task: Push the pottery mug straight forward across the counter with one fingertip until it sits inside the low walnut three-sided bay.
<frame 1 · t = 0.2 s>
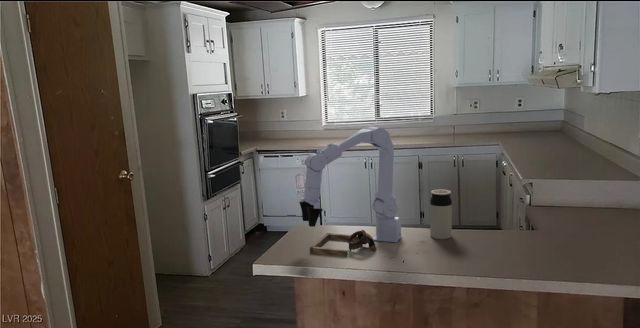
hand: (308, 223, 171), 11 cm above the countertop, tool pointing down, fingers open, 7 cm apart
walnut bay: (338, 246, 176), on the countertop
travel mug: (440, 237, 183), on the countertop
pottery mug: (362, 250, 172), on the countertop
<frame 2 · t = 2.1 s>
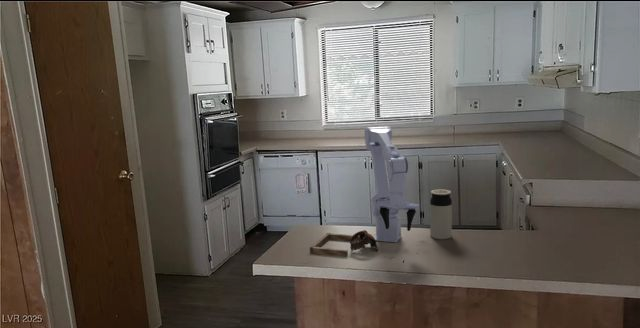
hand: (398, 229, 166), 9 cm above the countertop, tool pointing down, fingers open, 7 cm apart
nothing on the countertop moved.
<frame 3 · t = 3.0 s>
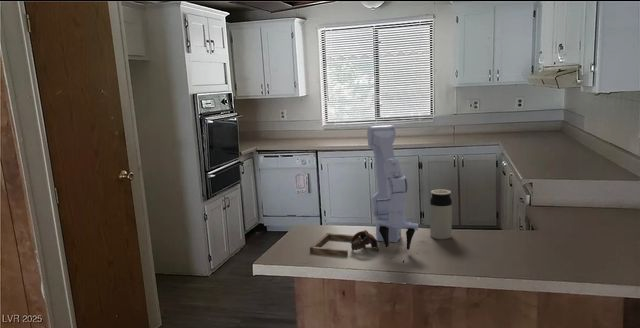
hand: (397, 247, 167), 2 cm above the countertop, tool pointing down, fingers open, 7 cm apart
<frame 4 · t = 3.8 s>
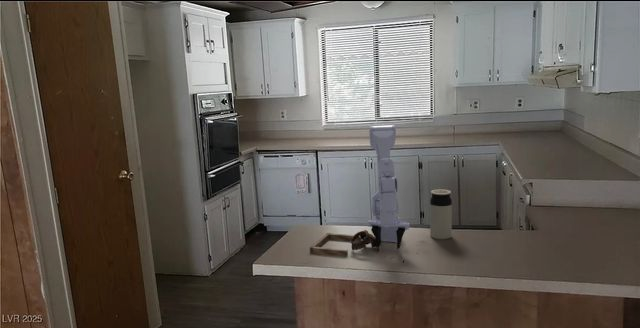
hand: (388, 246, 168), 2 cm above the countertop, tool pointing down, fingers open, 6 cm apart
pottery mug: (365, 250, 172), on the countertop, touching gripper
everything else where it was.
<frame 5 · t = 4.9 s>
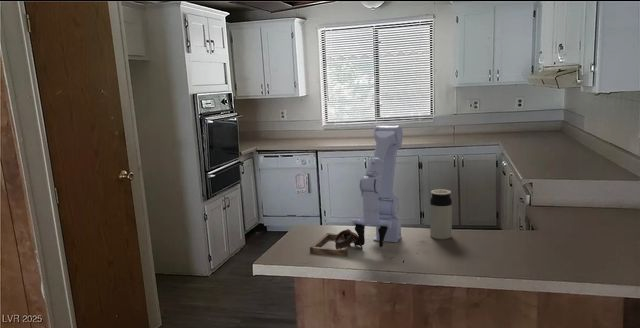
hand: (371, 245, 171), 2 cm above the countertop, tool pointing down, fingers open, 6 cm apart
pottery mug: (349, 249, 174), on the countertop, touching gripper
everything else where it was.
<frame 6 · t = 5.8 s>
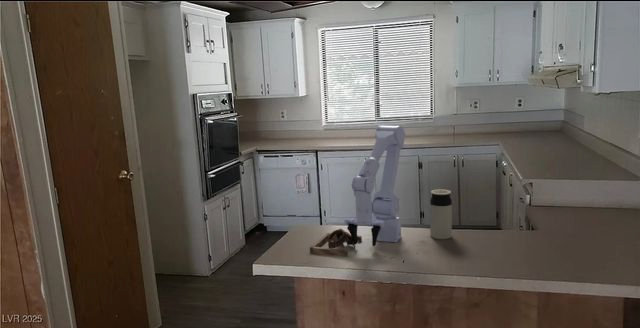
hand: (364, 244, 172), 2 cm above the countertop, tool pointing down, fingers open, 6 cm apart
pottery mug: (341, 248, 175), on the countertop, touching gripper
everything else where it was.
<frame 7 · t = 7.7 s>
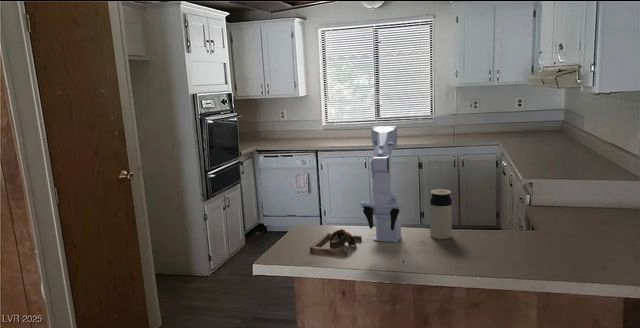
hand: (381, 228, 165), 10 cm above the countertop, tool pointing down, fingers open, 7 cm apart
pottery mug: (343, 248, 175), on the countertop
everything else where it was.
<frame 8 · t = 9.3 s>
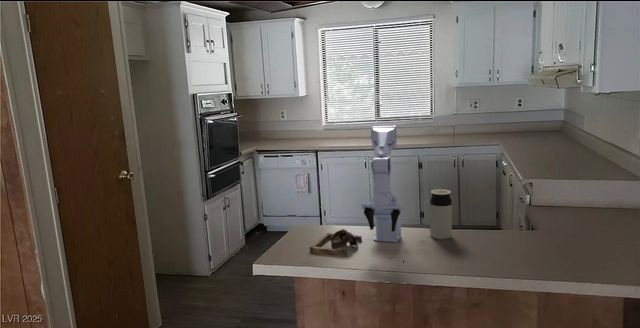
hand: (382, 229, 164), 9 cm above the countertop, tool pointing down, fingers open, 7 cm apart
nothing on the countertop moved.
at the end: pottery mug 3.0 cm from the target spot, on the countertop; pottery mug tilted 0° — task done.
